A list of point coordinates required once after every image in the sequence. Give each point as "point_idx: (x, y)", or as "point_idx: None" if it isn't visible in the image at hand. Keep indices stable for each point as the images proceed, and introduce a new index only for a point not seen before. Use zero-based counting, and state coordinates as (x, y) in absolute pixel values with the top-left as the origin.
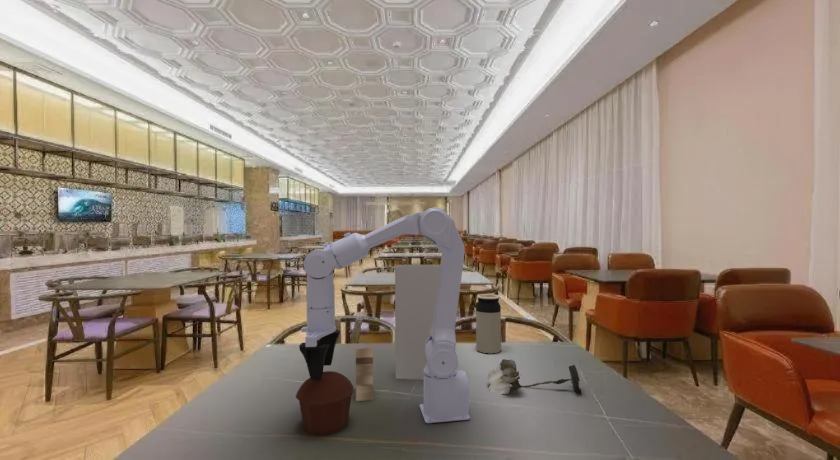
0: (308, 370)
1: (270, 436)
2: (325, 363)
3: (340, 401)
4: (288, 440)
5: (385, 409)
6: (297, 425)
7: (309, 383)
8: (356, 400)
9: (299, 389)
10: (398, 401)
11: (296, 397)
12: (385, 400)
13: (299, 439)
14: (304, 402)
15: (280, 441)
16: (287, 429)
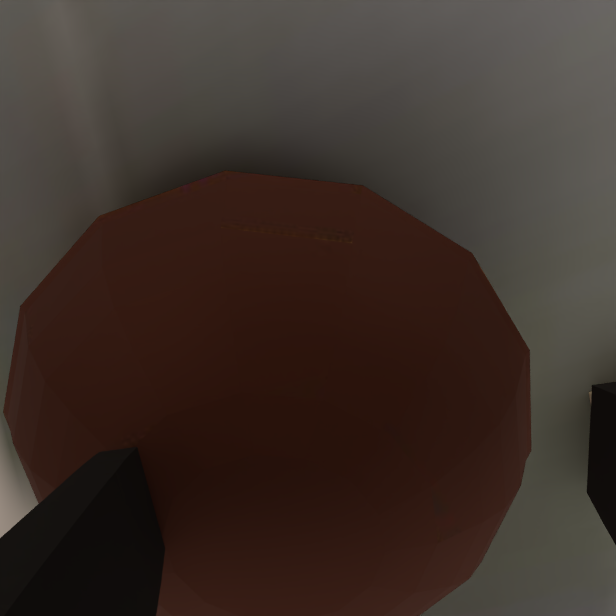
0: (32, 511)
1: (46, 30)
2: (605, 451)
3: None
4: (38, 184)
5: (477, 567)
6: (224, 152)
7: (98, 414)
8: (591, 396)
9: (145, 245)
10: (574, 602)
11: (88, 232)
12: (590, 542)
13: (69, 246)
14: (14, 354)
15: (12, 138)
16: (160, 107)
